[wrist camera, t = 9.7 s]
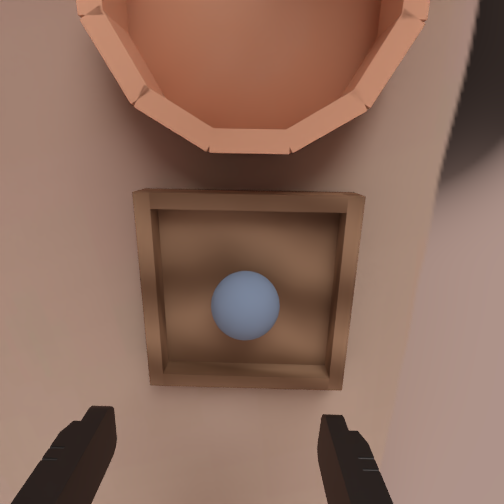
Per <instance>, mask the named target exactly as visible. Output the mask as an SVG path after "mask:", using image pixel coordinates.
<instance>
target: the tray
mask: <svg viewBox="0 0 504 504" xmlns="http://www.w3.org/2000/svg"><path fill="white" fill-rule="evenodd" d="M132 194H133V205H134V215H135V226H136V237H137V248H138V258H139V269H140V280H141V291H142V301H143V312H144V323H145V334H146V344H147V355H148V366H149V377H150V385H158V386H196V387H233V388H270V389H307V390H342V384H343V376H344V368H345V360H346V351H347V343H348V335H349V327H350V319H351V311H352V302H353V294H354V286H355V278H356V270H357V262H358V253H359V245H360V237H361V229H362V221H363V213H364V204H365V196H362V195H360V194H357V193H354V192H304V191H253V190H201V189H150V188H145V189H142V190H138V191H134V192H132ZM239 271H252V272H256V273H259V274H261V275H263V276H264V277H266V278H267V279H268V280H269V281H270V282H271V283H272V284H273V286H274V287H275V289H276V291H277V294H278V297H279V303H280V309H279V314H278V318H277V320H276V322H275V324H274V325H273V327H272V328H271V329H270V330H269V331H268V332H267V333H266V334H264V335H263V336H261V337H259V338H256V339H253V340H237V339H234V338H231V337H229V336H228V335H226V334H225V333H224V332H222V331H221V330H220V329H219V327H218V326H217V325H216V323H215V321H214V319H213V316H212V311H211V300H212V296H213V293H214V291H215V288H216V287H217V285H218V284H219V283H220V282H221V281H222V280H223V279H224V278H225V277H227V276H228V275H230V274H232V273H235V272H239Z"/></svg>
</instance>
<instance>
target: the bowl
mask: <svg viewBox="0 0 504 504" xmlns="http://www.w3.org/2000/svg"><path fill="white" fill-rule="evenodd" d="M76 4H77V12H78V15H79V16H80V17H81V19H79V20H80V21H81V23H82V24H83V26H84V28H85V29H86V31H87V33H88V34H89V36H90V38H91V39H92V41H93V43H94V44H95V46H96V48H97V49H98V51H99V52H100V54H101V56H102V57H103V59H104V61H105V62H106V64H107V66H108V67H109V69H110V71H111V72H112V74H113V76H114V77H115V79H116V80H117V82H118V84H119V85H120V87H121V89H122V90H123V92H124V94H125V95H126V97H127V99H128V100H129V102H130V104H132V105H134V107H135V108H136V109H138V110H139V111H141V112H143V113H144V114H146V115H148V116H149V117H151V118H152V119H154V120H156V121H157V122H159V123H160V124H162V125H164V126H165V127H167V128H169V129H170V130H172V131H173V132H175V133H177V134H178V135H180V136H182V137H183V138H185V139H186V140H188V141H190V142H191V143H193V144H195V145H196V146H198V147H199V148H201V149H203V150H204V151H206V152H210V153H228V154H283V155H285V154H290V153H294V152H296V151H298V150H299V149H301V148H303V147H305V146H306V145H308V144H310V143H312V142H313V141H315V140H317V139H319V138H320V137H322V136H324V135H326V134H327V133H329V132H331V131H333V130H334V129H336V128H338V127H340V126H342V125H343V124H345V123H347V122H349V121H350V120H352V119H354V118H356V117H357V116H359V115H361V114H363V113H364V112H366V111H367V109H369V108H371V106H372V105H373V103H374V102H375V100H376V99H377V97H378V95H379V94H380V92H381V91H382V89H383V88H384V86H385V85H386V83H387V82H388V80H389V79H390V77H391V76H392V74H393V73H394V71H395V70H396V68H397V66H398V65H399V63H400V62H401V60H402V59H403V57H404V56H405V54H406V53H407V51H408V50H409V48H410V47H411V45H412V44H413V42H414V40H415V39H416V37H417V36H418V34H419V33H420V31H421V30H422V28H423V27H424V25H425V23H423V22H424V21H426V20H427V17H428V10H429V4H430V0H76Z"/></svg>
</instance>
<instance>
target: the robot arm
mask: <svg viewBox="0 0 504 504" xmlns="http://www.w3.org/2000/svg"><path fill="white" fill-rule="evenodd" d="M116 441H117V435H116V425H115V414H114V408H113V407H112V406H91V407H90V408H89V409H88V411H87V413H86V414H85V416H84V417H83V419H82V420H81V421H73V422H72V423H70V424H69V425H68V426H67V427H66V428H64V429H63V430H62V431H61V432H60V433H59V434H58V436H57V437H56V439H55V440H54V442H53V443H52V445H51V446H50V449H48V450H47V452H46V453H45V455H44V456H43V458H42V461H40V462H39V463H38V465H37V466H36V468H35V469H34V471H33V472H32V474H31V475H30V477H29V478H28V479H27V481H26V482H25V484H24V485H23V487H22V488H21V490H20V491H19V493H18V494H17V495H16V497H15V498H14V500H13V501H12V503H11V504H91V503H92V501H93V499H94V497H95V494H96V492H97V490H98V488H99V486H100V483H101V481H102V479H103V477H104V475H105V473H106V470H107V468H108V466H109V464H110V462H111V459H112V457H113V455H114V451H115V448H116ZM317 453H318V462H319V467H320V471H321V476H322V480H323V485H324V489H325V493H326V498H327V502H328V504H393V502H392V500H391V498H390V495H389V493H388V490H387V488H386V486H385V483H384V481H383V478H382V476H381V473H380V472H379V468H378V466H377V464H376V461H375V460H374V456H373V454H372V452H371V449H370V447H369V444H368V443H367V441H366V440H365V439H364V438H363V437H362V436H361V434H360V433H359V432H358V431H349V430H348V428H347V425H346V422H345V419H344V417H343V416H342V415H326V414H323V415H322V418H321V424H320V431H319V438H318V446H317Z"/></svg>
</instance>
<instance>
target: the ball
mask: <svg viewBox="0 0 504 504" xmlns="http://www.w3.org/2000/svg"><path fill="white" fill-rule="evenodd" d="M279 309H280V303H279V297H278V294H277V291H276V289H275V287H274V286H273V284H272V283H271V282H270V281H269V280H268V279H267V278H266V277H264V276H263V275H261V274H259V273H256V272H252V271H239V272H235V273H232V274H230V275H228V276H227V277H225V278H224V279H223V280H222V281H221V282H220V283H219V284H218V285H217V287H216V288H215V291H214V293H213V296H212V300H211V311H212V316H213V319H214V321H215V323H216V325H217V326H218V327H219V329H220V330H221V331H222V332H224V333H225V334H226V335H228V336H229V337H231V338H234V339H237V340H253V339H256V338H259V337H261V336H263V335H264V334H266V333H267V332H268V331H269V330H270V329H271V328H272V327H273V325H274V324H275V322H276V320H277V318H278V314H279Z"/></svg>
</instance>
